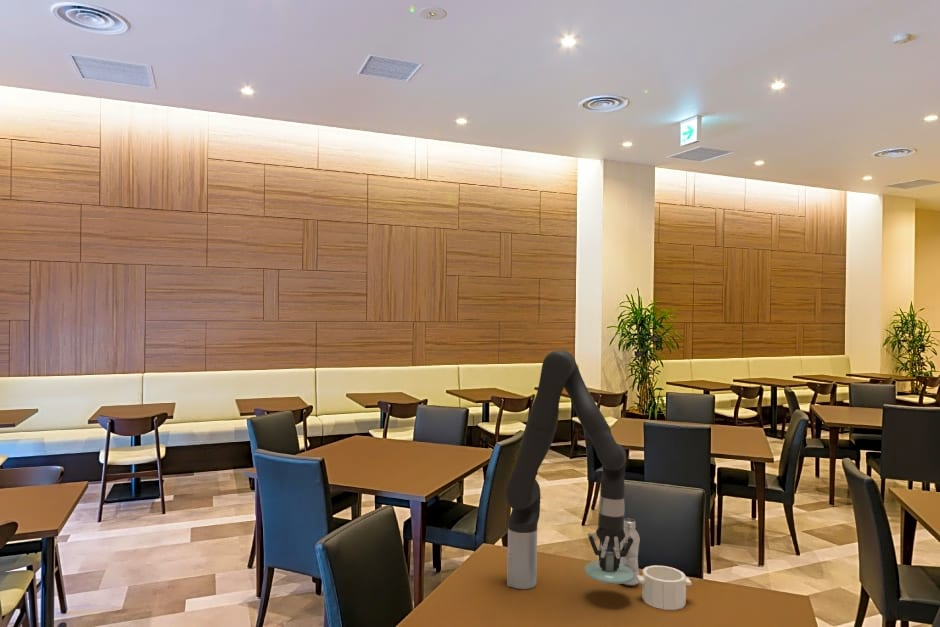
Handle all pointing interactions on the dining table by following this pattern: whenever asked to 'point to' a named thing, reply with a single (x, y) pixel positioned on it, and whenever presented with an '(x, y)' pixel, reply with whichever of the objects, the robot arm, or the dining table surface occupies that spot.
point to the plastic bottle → (631, 550)
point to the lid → (609, 571)
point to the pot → (664, 587)
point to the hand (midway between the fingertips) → (609, 569)
